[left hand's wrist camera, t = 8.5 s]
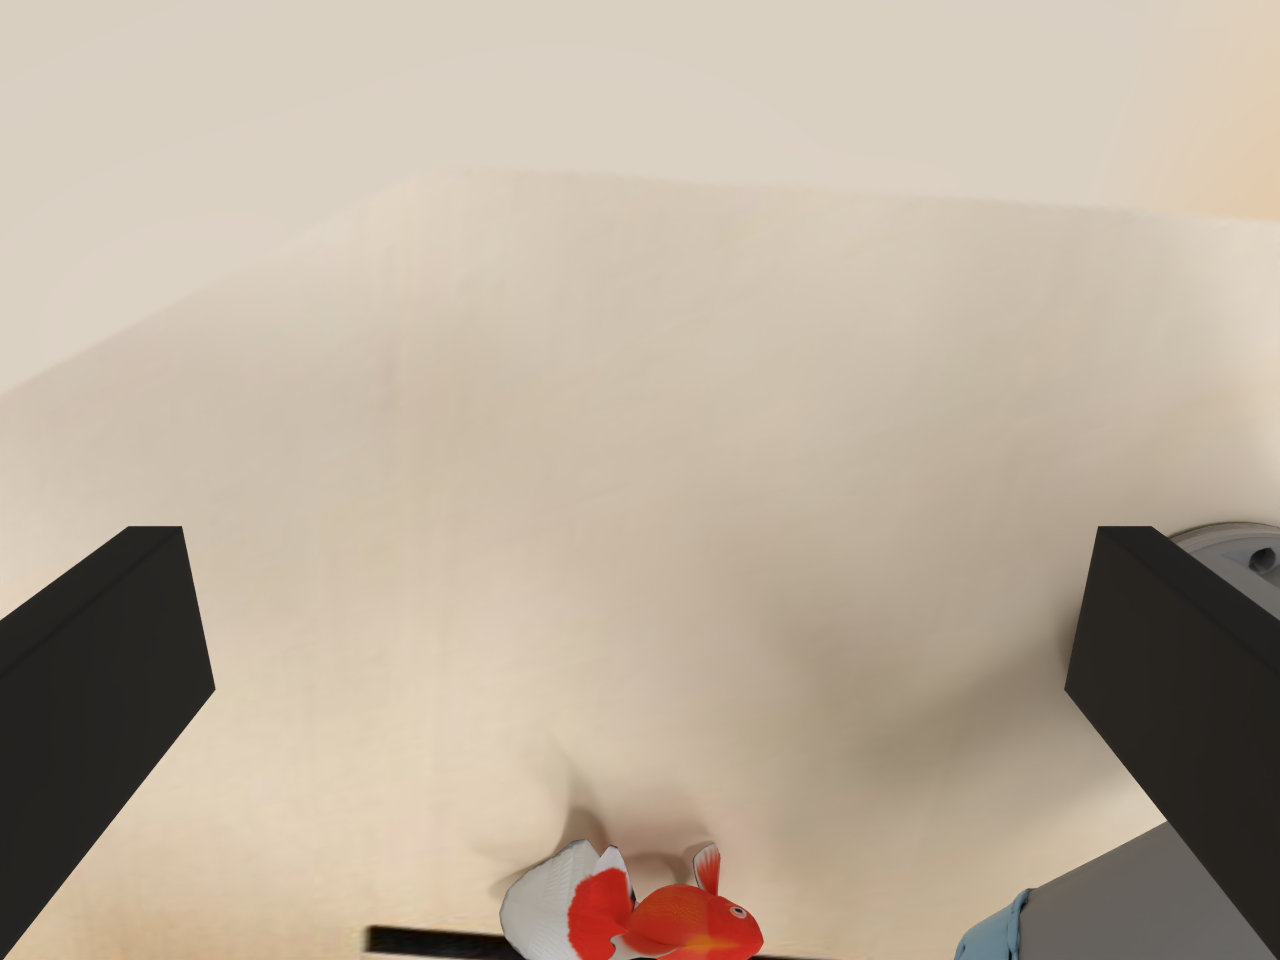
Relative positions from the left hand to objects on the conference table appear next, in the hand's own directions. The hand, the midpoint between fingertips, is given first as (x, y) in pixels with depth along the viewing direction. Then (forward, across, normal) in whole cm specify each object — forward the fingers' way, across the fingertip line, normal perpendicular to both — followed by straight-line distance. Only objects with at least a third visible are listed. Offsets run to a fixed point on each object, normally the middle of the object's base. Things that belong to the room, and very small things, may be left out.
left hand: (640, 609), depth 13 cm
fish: (+32, -1, -37) cm, 49 cm away
